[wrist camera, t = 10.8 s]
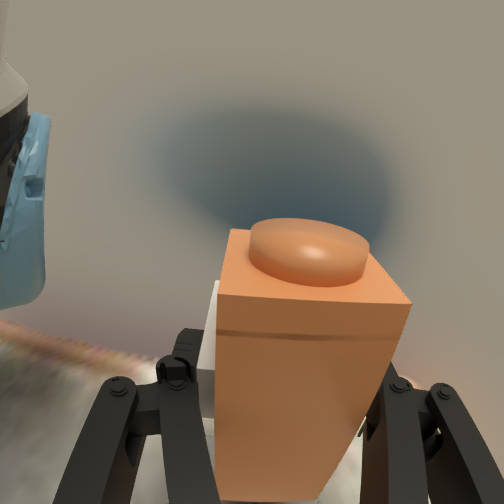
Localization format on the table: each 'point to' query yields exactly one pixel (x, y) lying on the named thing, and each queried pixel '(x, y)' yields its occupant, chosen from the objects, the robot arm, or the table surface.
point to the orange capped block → (297, 355)
